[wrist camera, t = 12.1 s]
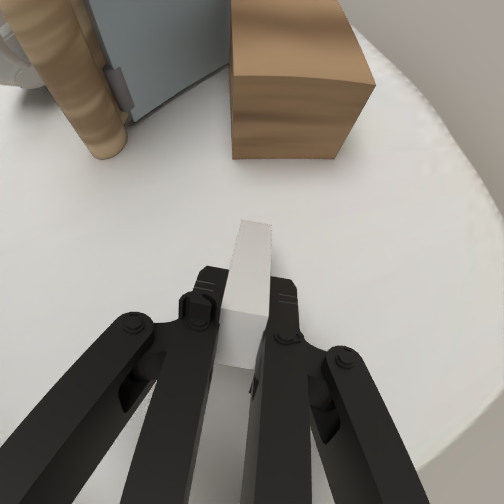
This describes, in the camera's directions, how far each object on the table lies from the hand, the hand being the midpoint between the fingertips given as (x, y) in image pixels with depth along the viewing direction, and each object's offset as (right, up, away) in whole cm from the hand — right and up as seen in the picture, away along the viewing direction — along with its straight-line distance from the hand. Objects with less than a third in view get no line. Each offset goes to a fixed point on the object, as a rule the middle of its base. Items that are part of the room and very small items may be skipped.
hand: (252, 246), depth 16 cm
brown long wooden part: (-10, +10, +5) cm, 15 cm away
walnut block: (+2, +10, +6) cm, 12 cm away
